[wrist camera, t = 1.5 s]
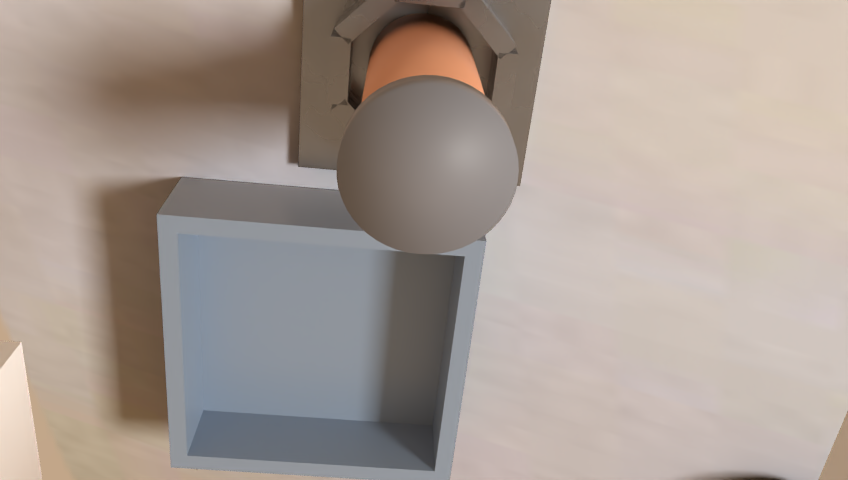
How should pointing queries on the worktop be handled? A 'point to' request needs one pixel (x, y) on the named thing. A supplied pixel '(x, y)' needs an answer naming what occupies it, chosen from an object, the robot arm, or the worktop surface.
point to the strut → (425, 143)
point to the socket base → (356, 33)
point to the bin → (308, 337)
